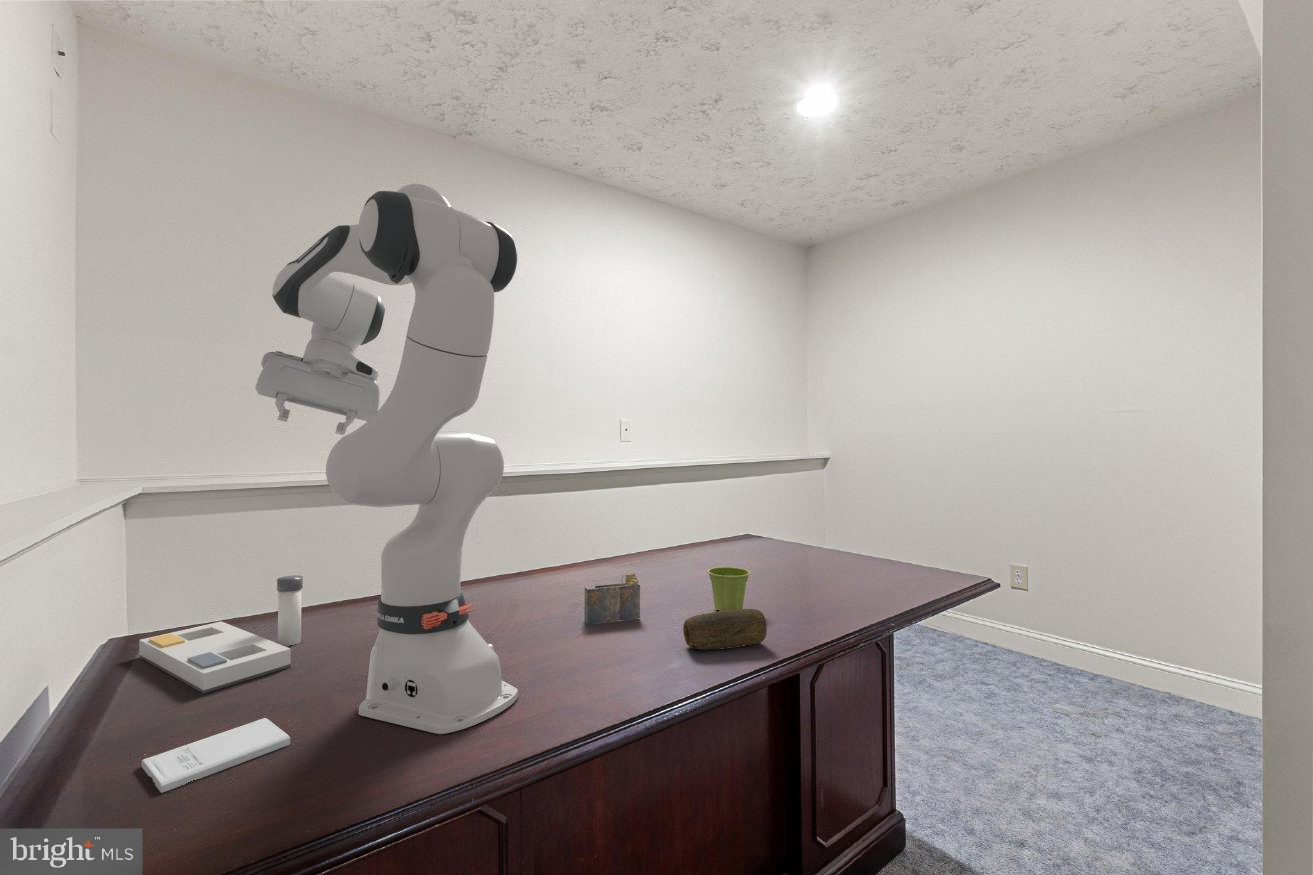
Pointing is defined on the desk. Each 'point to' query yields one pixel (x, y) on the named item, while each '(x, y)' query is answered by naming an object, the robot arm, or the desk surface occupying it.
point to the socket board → (214, 655)
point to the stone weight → (725, 629)
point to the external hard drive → (214, 754)
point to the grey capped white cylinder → (289, 609)
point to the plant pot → (728, 587)
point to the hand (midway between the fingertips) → (312, 426)
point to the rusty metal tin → (613, 601)
